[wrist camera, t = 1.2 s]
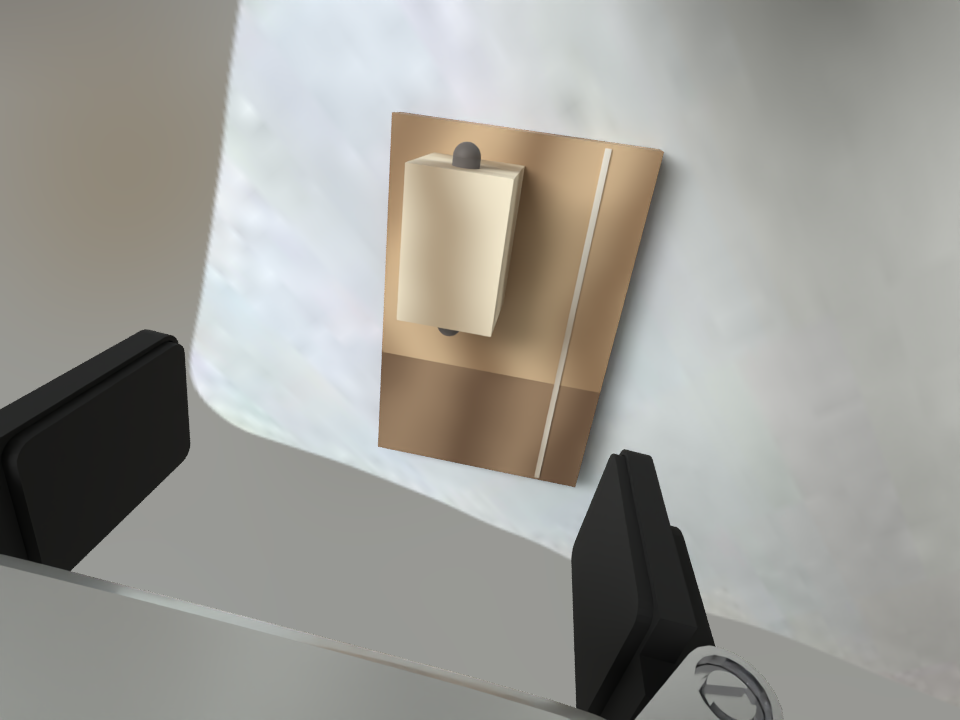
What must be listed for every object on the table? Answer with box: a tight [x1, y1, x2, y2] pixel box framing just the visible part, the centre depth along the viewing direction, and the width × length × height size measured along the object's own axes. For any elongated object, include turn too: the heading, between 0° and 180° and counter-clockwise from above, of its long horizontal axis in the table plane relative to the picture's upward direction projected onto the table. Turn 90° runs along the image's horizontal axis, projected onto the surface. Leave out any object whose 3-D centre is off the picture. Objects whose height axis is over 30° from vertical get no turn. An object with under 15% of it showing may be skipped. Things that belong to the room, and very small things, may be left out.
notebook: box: [378, 112, 664, 487], centre depth 30 cm, size 13×20×2 cm, turn 173°
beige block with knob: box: [397, 142, 525, 337], centre depth 25 cm, size 4×9×5 cm, turn 173°
